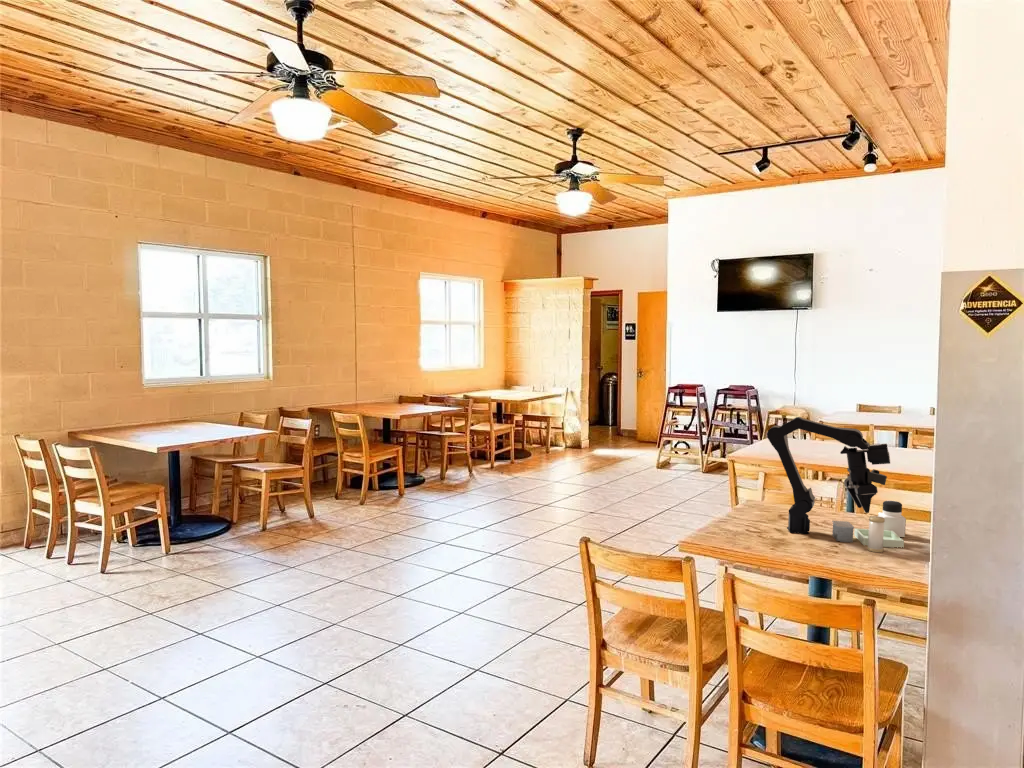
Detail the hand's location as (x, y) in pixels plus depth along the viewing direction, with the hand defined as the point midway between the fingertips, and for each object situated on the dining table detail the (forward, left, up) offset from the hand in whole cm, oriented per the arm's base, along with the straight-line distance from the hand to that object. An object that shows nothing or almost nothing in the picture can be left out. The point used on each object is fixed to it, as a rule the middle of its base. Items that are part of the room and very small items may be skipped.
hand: (863, 510), depth 247 cm
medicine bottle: (+12, +10, -11) cm, 19 cm away
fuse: (+1, -12, -11) cm, 16 cm away
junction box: (-7, 0, -11) cm, 12 cm away
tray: (+5, 0, -11) cm, 12 cm away
